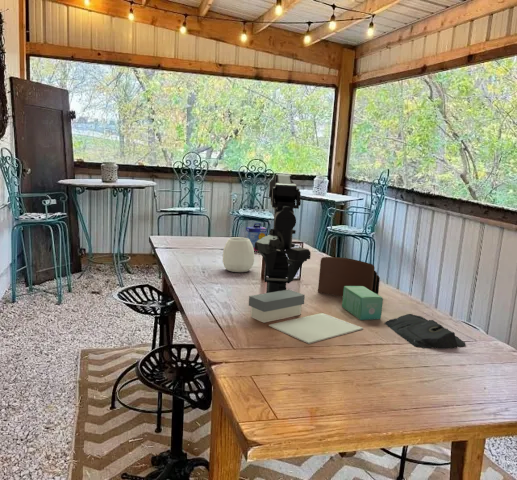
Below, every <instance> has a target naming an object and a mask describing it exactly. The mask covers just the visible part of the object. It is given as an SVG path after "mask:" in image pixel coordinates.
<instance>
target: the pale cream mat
mask: <svg viewBox="0 0 517 480" xmlns="http://www.w3.org/2000/svg"><path fill="white" fill-rule="evenodd" d="M268 327H270V328H273V329H275V330H277V331H278V332H281V333H283V334H285V335H288V336H291V337H292V338H295V339H297V340H299V341H301V342H304V343H306V344H308V345H310V344H313V343H314V344H315V343H318V342H320V341H326V340H327V339H332V338H335V337H339V336H340V337H341V336H343V335H346V334H350V333H354V332H358V331H362V330H364V327H362V326H359V325H356V324H354V323H350V322H348V321H347V320H346V321H345V320H343V319H340V318H337V317H334V316H332V315H330V314H327V313H323V312H320V313H315V314H311V315H307V316H302V317H298V318H297V317H296V318H293V319H288V320H285V321H280V322H276V323H271V324H268Z"/></svg>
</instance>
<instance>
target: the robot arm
mask: <svg viewBox="0 0 517 480" xmlns="http://www.w3.org/2000/svg"><path fill="white" fill-rule="evenodd" d="M268 198H269V199H270V200H269V201H270V202H269V203H270V205H271V208H272V209H273V211H274V214H273V215H274V217H273V228H270V229H269V234H268V235H266V236H265V237H263V238H261V239H259V240H257V241H256V243H255V250H259V251H257V252H256V253H258V254H259V255H260V256H261V257H262V258H263V261H264V264H265V267H264V279H263V281H264V283H266V292H265V293H270V292H276V291H282V290H287V284H290V283H292V282H293V281H294V278H295V277H296V275H297V274H298V272H299V270H300V268H301V267H302V266H303V264H304V263H305V262H308V260H311V254H312V253H311V251H310V249H308V248H306V247H305V248H304V247H302V246H301V247H295V246H296V245H295V243H293V235H295V234H296V233H297V231H296V230H295V229H294V228H295V226H296V225H297V218H296V216H295V215H296V214H294V213H295V211H294V209H299V208H300V207H301V203H302V201H301V199H302V198H301V191H300V188H299V187H298V186H297V184H296V183H294V181H293V180H292V175H291V174H290V173H281V172H279V173H275V177H274V178H273V179H272V180H271V181H269V187H268Z"/></svg>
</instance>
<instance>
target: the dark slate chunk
mask: <svg viewBox="0 0 517 480" xmlns="http://www.w3.org/2000/svg"><path fill="white" fill-rule="evenodd" d="M384 325H385V326H386V327H388V328H390V329H391V330H392V331H393V332H394V333H395V334H397V335H398V336H400V337H401V338H402V339H404V340H405V341H406V342H407V343H409V344H410V345H412V346H413V347H415V348H421V349H424V350H425V349H440V350H445V349H455V348H461V347H465V346H466V342H465V341H463V340H462V339H461V338H459V336H456V333H455V332H453V331H451V330H449V329H448V328H446V327H444V326H443V325H441V324H440V323H438V322H437V321H435V320H434V319H427V318H425V317H423V316H421V315H417V314H416V315H415V314H413V313H408V314H404V315H401V316H398V317H396V318H391V319H388V320H386V321H385V322H384Z"/></svg>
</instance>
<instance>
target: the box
mask: <svg viewBox="0 0 517 480" xmlns="http://www.w3.org/2000/svg"><path fill="white" fill-rule="evenodd" d="M383 304H384V298H383V296H381V295H379V294H378V295H377V294H376V293H374V292H372V291H371V290H369V289H367V288H366V287H364V286H344V291H343V297H342V303H341V307H342V308H343V309H344V310H345V311H347V312H349V313H350V314H351V315H353V316H354V317H355V318H357V319H358V320H360V321H367V320H368V321H370V320H381V318H382V312H383Z"/></svg>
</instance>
